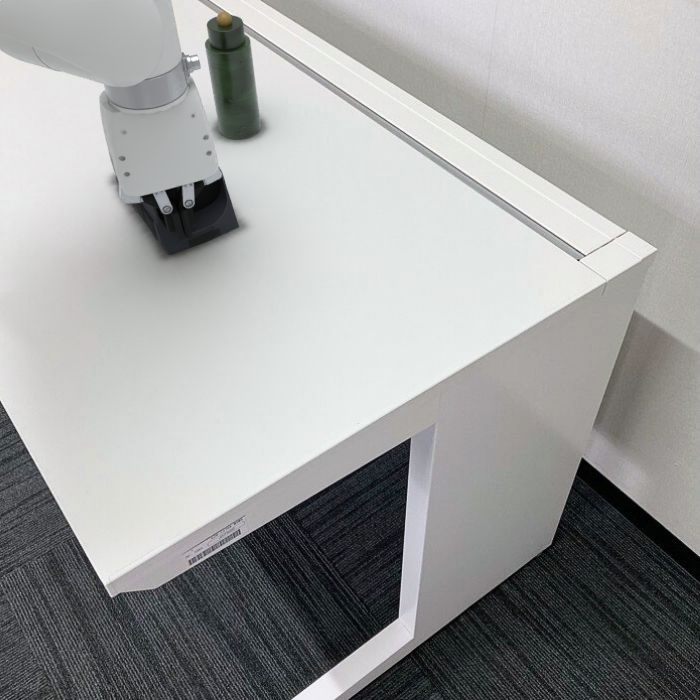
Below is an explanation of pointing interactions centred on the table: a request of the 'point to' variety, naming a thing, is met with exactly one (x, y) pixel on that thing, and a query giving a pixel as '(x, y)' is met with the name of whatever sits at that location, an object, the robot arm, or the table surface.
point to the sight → (209, 215)
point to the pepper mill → (232, 77)
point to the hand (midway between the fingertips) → (182, 232)
